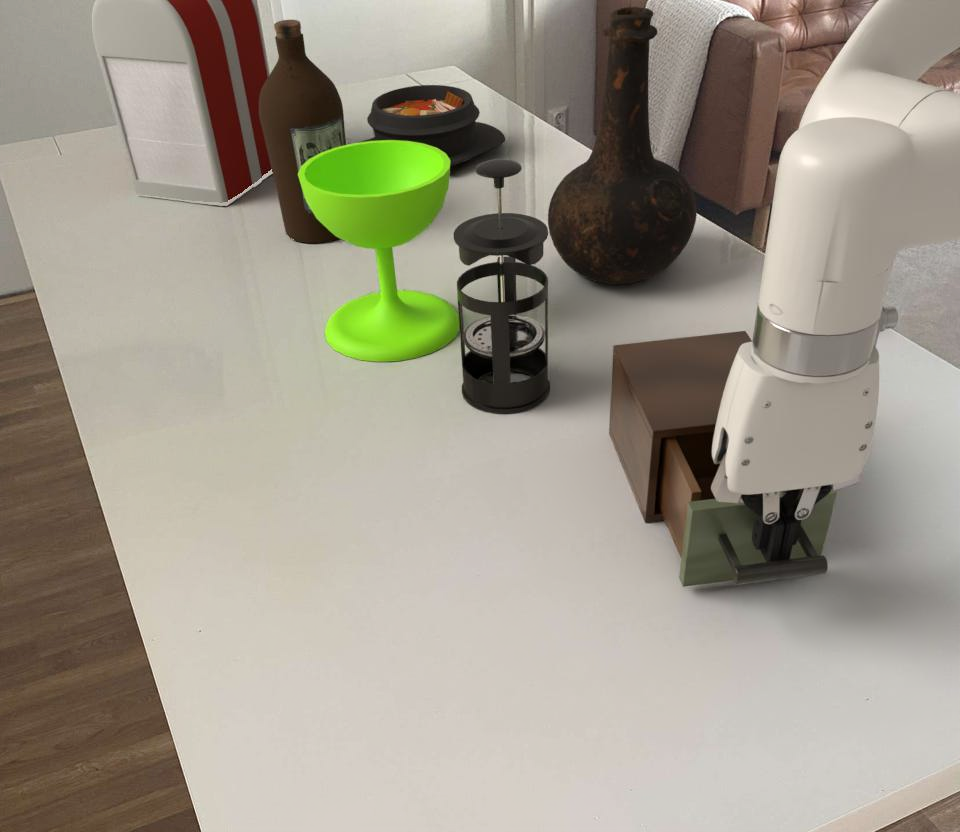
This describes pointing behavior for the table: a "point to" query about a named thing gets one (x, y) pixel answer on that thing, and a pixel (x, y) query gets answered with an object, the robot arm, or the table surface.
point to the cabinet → (665, 401)
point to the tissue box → (185, 93)
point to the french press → (503, 305)
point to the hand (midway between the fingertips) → (771, 551)
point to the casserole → (433, 121)
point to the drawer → (725, 522)
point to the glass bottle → (623, 177)
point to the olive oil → (298, 127)
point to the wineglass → (382, 241)
